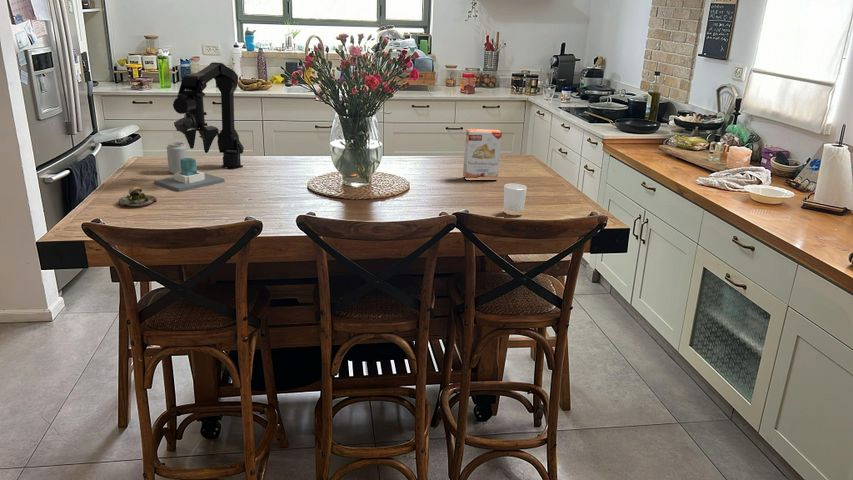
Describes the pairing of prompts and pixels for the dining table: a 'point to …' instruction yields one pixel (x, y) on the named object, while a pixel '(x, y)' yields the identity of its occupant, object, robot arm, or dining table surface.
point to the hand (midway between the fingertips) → (199, 150)
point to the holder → (188, 181)
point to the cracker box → (482, 153)
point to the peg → (188, 166)
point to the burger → (136, 198)
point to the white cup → (514, 196)
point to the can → (176, 156)
